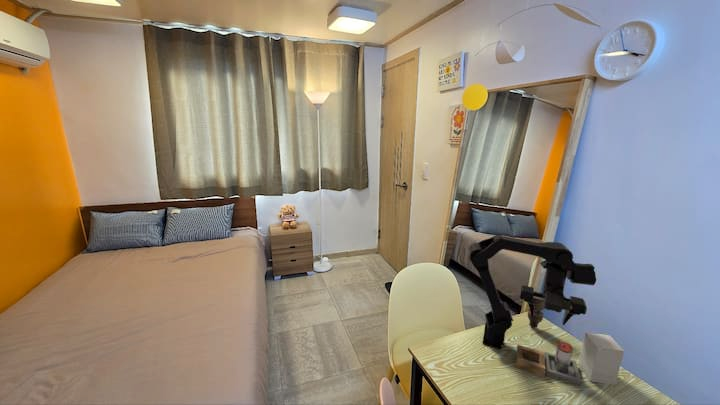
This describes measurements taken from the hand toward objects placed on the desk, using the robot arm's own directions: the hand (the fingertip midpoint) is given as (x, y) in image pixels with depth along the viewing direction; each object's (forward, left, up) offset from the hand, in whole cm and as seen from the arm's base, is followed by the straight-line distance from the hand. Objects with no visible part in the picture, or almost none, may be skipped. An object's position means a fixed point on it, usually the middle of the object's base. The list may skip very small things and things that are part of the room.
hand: (547, 320), depth 101 cm
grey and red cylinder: (+5, -8, -12) cm, 15 cm away
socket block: (-4, -9, -12) cm, 16 cm away
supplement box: (+15, -4, -13) cm, 20 cm away
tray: (+5, -8, -12) cm, 15 cm away
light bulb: (-2, +12, -13) cm, 18 cm away
